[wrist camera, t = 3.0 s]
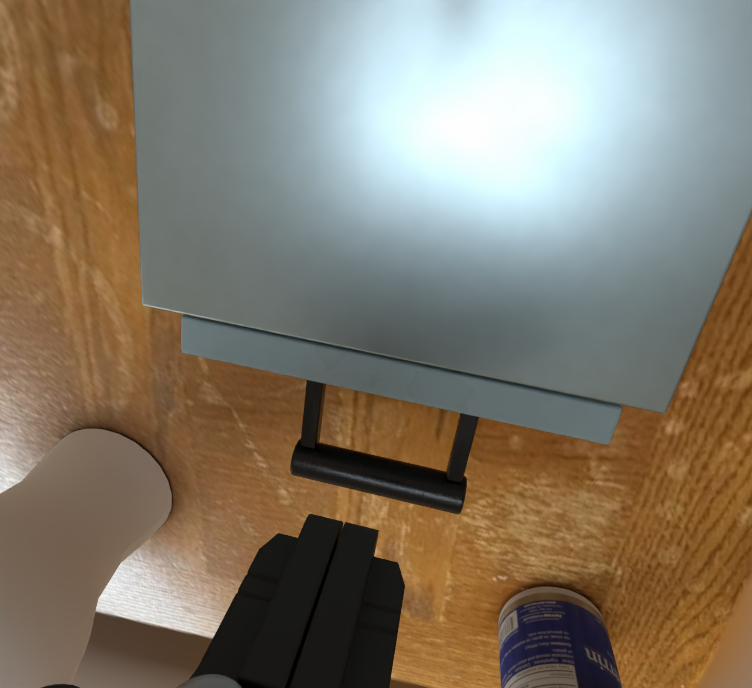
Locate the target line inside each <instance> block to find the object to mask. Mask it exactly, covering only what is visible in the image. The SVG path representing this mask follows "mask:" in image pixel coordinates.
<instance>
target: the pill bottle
mask: <svg viewBox="0 0 752 688" xmlns="http://www.w3.org/2000/svg"><path fill="white" fill-rule="evenodd" d="M499 654H500V673H501V688H622V684H621V681H620V677H619V673H618V669H617V666H616V662H615V658H614V654H613V650H612V646H611V643H610V639H609V635H608V631H607V628H606V624H605V621H604V619H603V617H602V615H601V613H600V612H599V610H598V609H597V608H596V607H595V606H594V605H593V604H592V603H591V602H590V601H589V600H587V599H586V598H585V597H583V596H581V595H579V594H577V593H575V592H573V591H570V590H567V589H563V588H558V587H535V588H531V589H527V590H524V591H522V592H520V593H518V594H516V595H515V596H513V597H512V598H511V599H510V600H509V601H508V602H507V603H506V604H505V605H504V607H503V609H502V611H501V613H500V617H499Z"/></svg>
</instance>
